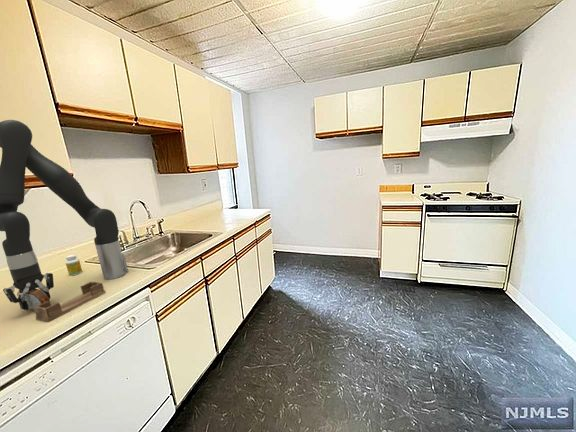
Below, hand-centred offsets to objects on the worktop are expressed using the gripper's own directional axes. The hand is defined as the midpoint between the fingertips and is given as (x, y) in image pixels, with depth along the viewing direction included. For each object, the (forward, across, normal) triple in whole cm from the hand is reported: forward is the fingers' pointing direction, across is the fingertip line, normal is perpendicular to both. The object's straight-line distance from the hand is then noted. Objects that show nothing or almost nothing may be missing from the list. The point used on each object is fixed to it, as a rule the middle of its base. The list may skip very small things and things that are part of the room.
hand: (37, 304), depth 97 cm
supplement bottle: (+2, -27, -23) cm, 36 cm away
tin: (+2, 0, 0) cm, 2 cm away
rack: (+2, -5, +12) cm, 14 cm away
